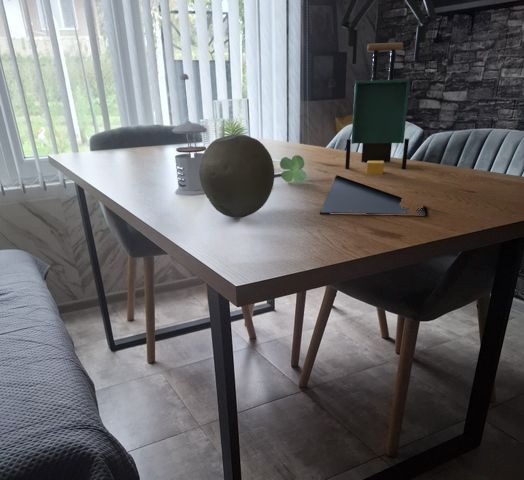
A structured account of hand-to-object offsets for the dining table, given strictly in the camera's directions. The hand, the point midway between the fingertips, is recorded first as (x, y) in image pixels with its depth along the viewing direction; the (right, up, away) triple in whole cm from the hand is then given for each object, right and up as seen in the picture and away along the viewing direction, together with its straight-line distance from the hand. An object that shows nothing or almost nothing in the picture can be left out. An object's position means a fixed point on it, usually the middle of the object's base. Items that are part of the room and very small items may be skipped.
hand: (384, 62), depth 110 cm
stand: (+3, -16, +24) cm, 29 cm away
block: (0, -21, +11) cm, 23 cm away
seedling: (-19, -21, +17) cm, 33 cm away
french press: (-44, -26, +10) cm, 52 cm away
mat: (-3, -30, 0) cm, 30 cm away
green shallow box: (+2, -2, +11) cm, 12 cm away
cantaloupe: (-32, -40, -15) cm, 54 cm away
